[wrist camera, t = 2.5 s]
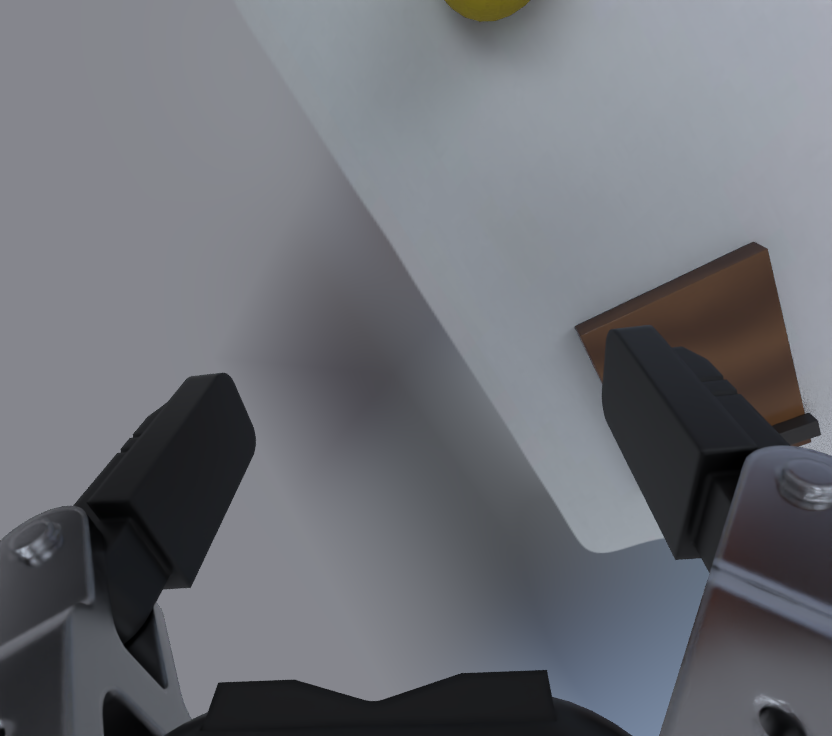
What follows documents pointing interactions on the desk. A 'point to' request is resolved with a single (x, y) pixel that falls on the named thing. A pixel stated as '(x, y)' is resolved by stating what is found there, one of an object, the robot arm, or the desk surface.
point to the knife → (798, 428)
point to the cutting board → (718, 328)
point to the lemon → (486, 8)
